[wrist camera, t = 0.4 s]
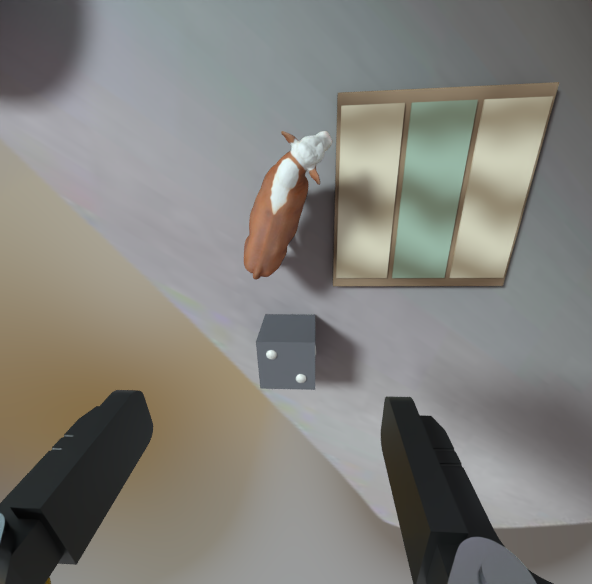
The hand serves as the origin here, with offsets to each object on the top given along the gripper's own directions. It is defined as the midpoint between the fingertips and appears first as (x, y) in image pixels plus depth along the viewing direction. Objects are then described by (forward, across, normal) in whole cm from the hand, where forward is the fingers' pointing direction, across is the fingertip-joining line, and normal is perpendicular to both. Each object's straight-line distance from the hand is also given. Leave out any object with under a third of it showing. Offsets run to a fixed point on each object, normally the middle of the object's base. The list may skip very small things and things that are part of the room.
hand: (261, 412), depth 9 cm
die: (+23, +1, +12) cm, 26 cm away
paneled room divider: (+23, -13, -4) cm, 27 cm away
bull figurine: (+24, +1, -4) cm, 24 cm away
